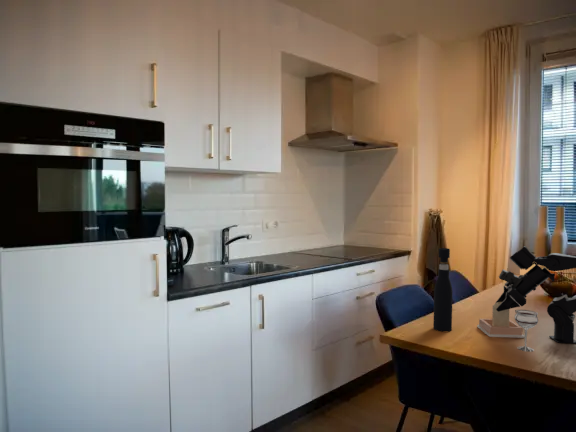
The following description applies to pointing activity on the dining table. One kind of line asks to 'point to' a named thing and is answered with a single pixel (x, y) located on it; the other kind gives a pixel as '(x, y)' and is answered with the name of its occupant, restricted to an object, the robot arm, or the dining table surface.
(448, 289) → the wine bottle
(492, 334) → the pink square tray
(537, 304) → the dining table surface
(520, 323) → the wineglass
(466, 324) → the dining table surface
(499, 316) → the candle
